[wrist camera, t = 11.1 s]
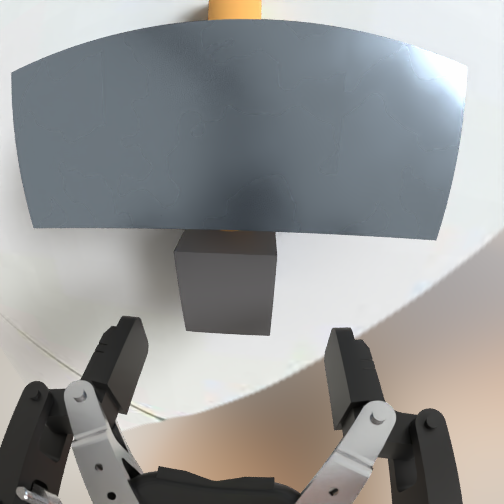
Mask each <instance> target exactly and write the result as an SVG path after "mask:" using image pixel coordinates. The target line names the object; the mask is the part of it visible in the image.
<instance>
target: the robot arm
mask: <svg viewBox="0 0 504 504" xmlns="http://www.w3.org/2000/svg"><path fill="white" fill-rule="evenodd" d="M147 354H148V340H147V337H146V334H145V331H144V328H143V324H142V321H141V319H140V318H139V317H130V316H122V317H121V319H120V321H119V323H118V325H117V327H116V326H111V327H110V328H109V329H108V330H107V331H106V332H105V333H104V334H103V336H102V338H101V340H100V341H99V345H97V347H96V349H95V352H94V353H93V355H92V357H91V359H90V361H89V363H88V365H87V368H86V370H85V372H84V374H83V376H82V378H81V379H80V380H78V381H74V382H72V383H71V384H70V385H68V387H67V388H66V389H48V388H47V386H46V385H45V384H44V383H42V382H40V381H34V382H31V383H29V384H28V385H27V386H26V387H25V389H24V390H23V392H22V395H21V397H20V399H19V401H18V404H17V406H16V408H15V411H14V413H13V415H12V418H11V420H10V423H9V425H8V428H7V431H6V434H5V436H4V439H3V441H2V445H1V447H0V504H62V503H61V501H60V499H59V498H58V494H59V489H60V485H61V480H62V477H63V473H64V468H65V464H66V461H67V457H68V453H69V450H70V447H71V444H72V449H73V452H74V455H75V458H76V461H77V464H78V467H79V470H80V472H81V475H82V478H83V480H84V483H85V485H86V488H87V490H88V493H89V495H90V497H91V500H92V501H93V504H352V503H353V501H354V500H355V499H356V497H357V496H358V494H359V492H360V491H361V489H362V488H363V486H364V485H365V483H366V482H367V480H368V478H369V477H370V475H371V473H372V470H373V468H372V466H373V464H374V462H375V460H376V459H377V457H381V458H388V464H389V472H390V482H391V493H392V504H463V503H462V495H461V489H460V483H459V478H458V472H457V467H456V463H455V457H454V453H453V449H452V444H451V440H450V436H449V432H448V428H447V425H446V421H445V418H444V416H443V415H442V414H441V413H440V412H439V411H437V410H435V409H431V408H429V409H424V410H422V411H421V412H420V413H419V414H418V415H414V414H406V413H401V412H397V411H395V410H394V409H393V408H392V407H391V406H390V405H389V404H388V403H386V402H385V400H384V397H383V393H382V390H381V386H380V382H379V379H378V376H377V372H376V369H375V365H374V362H373V361H372V356H371V353H370V349H369V347H368V346H367V345H366V344H365V343H364V341H363V340H355V339H354V336H353V332H352V329H351V328H332V330H331V333H330V337H329V340H328V344H327V347H326V350H325V357H324V362H325V370H326V376H327V383H328V389H329V396H330V403H331V409H332V417H333V424H334V430H343V438H342V439H341V441H340V442H339V444H338V445H337V447H336V448H335V450H334V451H333V452H332V454H331V455H330V457H329V458H328V459H327V461H326V462H325V463H324V465H323V466H322V468H321V469H320V470H319V472H318V473H317V474H316V476H314V478H313V479H312V480H311V481H310V483H309V484H308V485H307V486H306V488H305V489H304V490H303V491H302V492H301V494H300V493H299V492H297V491H296V490H294V489H292V488H290V487H288V486H286V485H283V484H279V483H275V482H274V477H271V478H267V477H242V478H235V479H228V480H221V481H212V480H209V479H206V478H203V477H200V476H198V475H195V474H192V473H190V472H187V471H183V470H177V469H171V468H166V467H160V466H159V468H158V471H155V472H148V473H143V471H142V470H141V468H140V466H139V465H138V463H137V462H136V460H135V459H134V457H133V455H132V454H131V452H130V450H129V447H128V445H127V443H126V441H125V439H124V436H123V434H122V432H121V430H120V427H119V425H118V422H117V420H116V417H117V415H118V413H121V414H126V415H127V412H128V409H129V406H130V403H131V400H132V397H133V394H134V391H135V388H136V385H137V382H138V379H139V376H140V374H141V371H142V368H143V365H144V362H145V359H146V357H147ZM73 436H74V441H72V440H73Z"/></svg>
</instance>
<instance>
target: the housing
mask: <svg viewBox="0 0 504 504" xmlns="http://www.w3.org/2000/svg"><path fill="white" fill-rule="evenodd" d="M466 76H467V67H466V66H464V65H462V64H460V63H457V62H455V61H453V60H450V59H448V58H446V57H443V56H441V55H438V54H435V53H433V52H430V51H427V50H425V49H422V48H419V47H416V46H413V45H410V44H407V43H403V42H400V41H397V40H393V39H390V38H386V37H382V36H378V35H374V34H370V33H366V32H361V31H357V30H352V29H346V28H341V27H335V26H329V25H322V24H315V23H307V22H297V21H285V20H268V19H221V20H204V21H192V22H183V23H174V24H167V25H160V26H154V27H148V28H143V29H138V30H133V31H128V32H124V33H120V34H115V35H111V36H108V37H104V38H100V39H97V40H93V41H90V42H87V43H83V44H80V45H77V46H74V47H71V48H68V49H66V50H63V51H60V52H57V53H55V54H52V55H50V56H47V57H45V58H42V59H40V60H38V61H35V62H33V63H31V64H28V65H26V66H24V67H22V68H20V69H18V70H16V71H14V72H12V74H11V81H12V109H13V122H14V132H15V140H16V148H17V155H18V161H19V167H20V172H21V178H22V183H23V187H24V192H25V196H26V201H27V205H28V209H29V213H30V216H31V220H32V224H33V227H34V228H156V229H205V230H240V231H270V232H295V233H318V234H339V235H358V236H376V237H393V238H409V239H424V240H436V239H437V236H438V233H439V230H440V226H441V223H442V219H443V216H444V212H445V209H446V205H447V201H448V197H449V193H450V189H451V185H452V180H453V176H454V171H455V166H456V161H457V155H458V150H459V144H460V137H461V131H462V123H463V115H464V105H465V93H466Z"/></svg>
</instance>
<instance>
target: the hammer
mask: <svg viewBox="0 0 504 504" xmlns="http://www.w3.org/2000/svg"><path fill="white" fill-rule="evenodd" d="M221 19H261V0H209V9H208V20H221ZM174 256H175V263H176V271H177V278H178V284H179V291H180V298H181V304H182V310H183V316H184V322H185V327H186V331H194V332H207V333H222V334H240V335H265V336H270V328H271V318H272V307H273V297H274V286H275V275H276V263H277V248H276V235H275V232H270V231H240V230H205V229H185V230H184V232H183V234H182V236H181V238H180V240H179V242H178V244H177V246H176V249H175V251H174Z"/></svg>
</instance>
